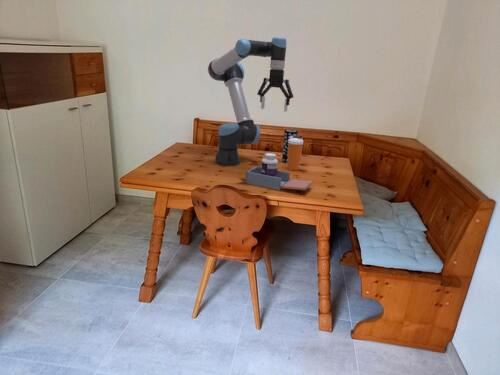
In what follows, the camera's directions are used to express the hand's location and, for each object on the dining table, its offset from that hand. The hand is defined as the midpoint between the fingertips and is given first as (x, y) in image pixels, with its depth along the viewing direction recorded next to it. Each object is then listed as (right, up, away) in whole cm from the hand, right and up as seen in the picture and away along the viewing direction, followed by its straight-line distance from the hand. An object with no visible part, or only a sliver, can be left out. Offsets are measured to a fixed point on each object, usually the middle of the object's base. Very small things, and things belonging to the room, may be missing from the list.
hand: (273, 110), depth 191 cm
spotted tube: (+11, -26, +33) cm, 44 cm away
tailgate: (+5, -40, -15) cm, 43 cm away
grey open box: (-4, -40, -10) cm, 42 cm away
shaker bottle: (+13, -31, +19) cm, 39 cm away
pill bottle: (-4, -40, -11) cm, 41 cm away
